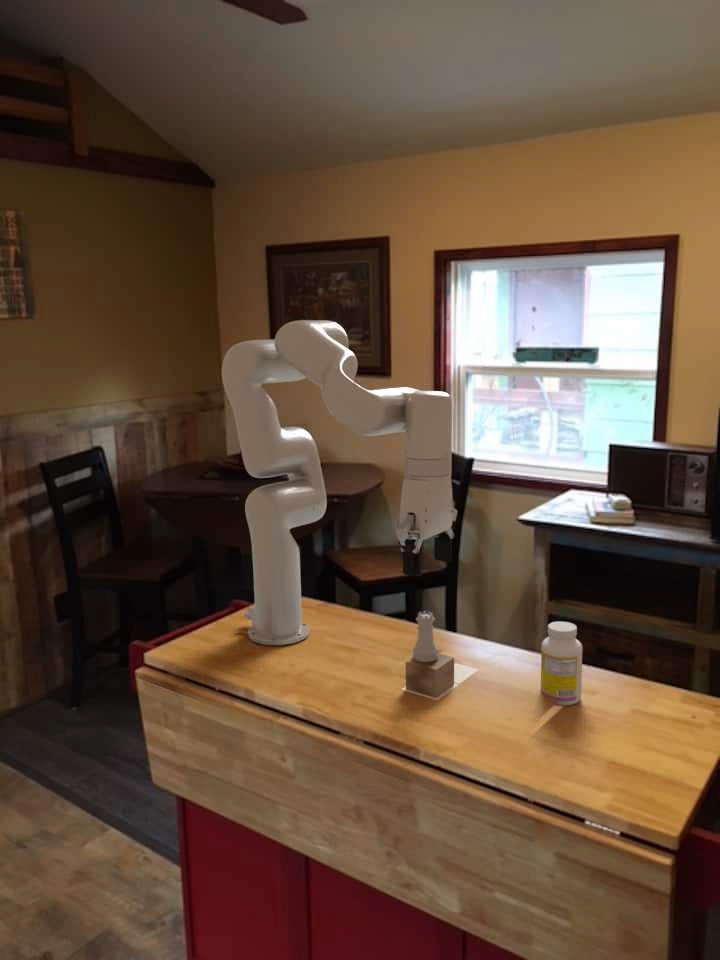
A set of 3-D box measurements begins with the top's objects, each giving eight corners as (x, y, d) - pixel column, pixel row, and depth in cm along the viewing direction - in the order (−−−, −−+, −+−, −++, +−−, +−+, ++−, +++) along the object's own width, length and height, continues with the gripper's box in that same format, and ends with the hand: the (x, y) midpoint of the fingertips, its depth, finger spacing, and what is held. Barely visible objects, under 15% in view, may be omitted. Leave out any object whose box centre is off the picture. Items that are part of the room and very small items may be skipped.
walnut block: (405, 689, 138) (405, 661, 137) (424, 676, 142) (424, 649, 141) (436, 697, 134) (436, 669, 133) (454, 684, 139) (454, 657, 138)
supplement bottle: (554, 686, 141) (556, 616, 138) (588, 697, 136) (591, 625, 134) (532, 698, 136) (534, 626, 134) (567, 711, 132) (569, 636, 129)
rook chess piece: (437, 664, 135) (437, 619, 134) (411, 663, 136) (411, 618, 135) (439, 653, 140) (439, 609, 138) (413, 652, 140) (413, 608, 139)
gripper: (436, 457, 141) (435, 552, 144) (379, 473, 127) (379, 577, 131) (474, 461, 136) (472, 559, 140) (419, 478, 123) (419, 585, 126)
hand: (427, 567), depth 135 cm, fingers open, 9 cm apart
